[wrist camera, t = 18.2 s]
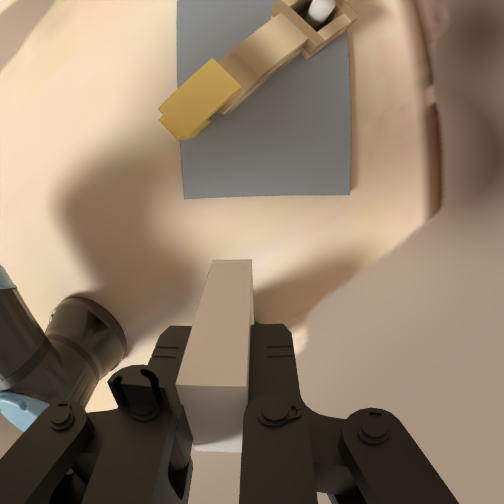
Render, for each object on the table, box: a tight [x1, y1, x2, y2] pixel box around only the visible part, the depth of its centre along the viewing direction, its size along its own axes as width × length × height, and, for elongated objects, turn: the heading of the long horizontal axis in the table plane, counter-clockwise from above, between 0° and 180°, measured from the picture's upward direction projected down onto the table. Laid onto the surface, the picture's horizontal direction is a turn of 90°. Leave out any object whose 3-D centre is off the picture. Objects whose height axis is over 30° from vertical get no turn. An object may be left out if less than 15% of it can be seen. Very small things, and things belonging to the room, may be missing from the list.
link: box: [217, 0, 359, 116], centre depth 29 cm, size 18×6×7 cm, turn 133°
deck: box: [158, 0, 351, 199], centre depth 30 cm, size 21×27×11 cm
